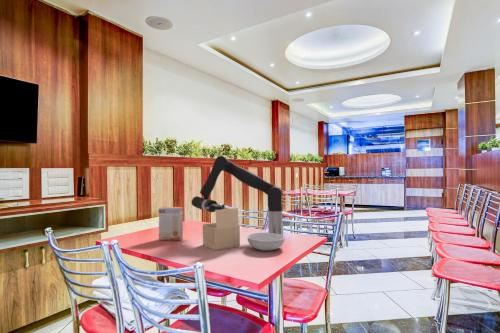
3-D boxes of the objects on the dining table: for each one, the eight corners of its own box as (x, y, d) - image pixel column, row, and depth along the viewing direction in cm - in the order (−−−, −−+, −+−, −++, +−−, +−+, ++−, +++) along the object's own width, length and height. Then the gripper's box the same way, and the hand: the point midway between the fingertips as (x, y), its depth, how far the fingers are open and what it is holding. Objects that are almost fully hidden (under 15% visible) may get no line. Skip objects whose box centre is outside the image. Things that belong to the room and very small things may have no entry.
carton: (201, 244, 169) (201, 224, 169) (226, 240, 179) (226, 221, 179) (214, 251, 155) (213, 229, 156) (240, 246, 165) (240, 225, 165)
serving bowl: (279, 255, 146) (279, 242, 146) (242, 252, 153) (241, 239, 154) (288, 245, 166) (288, 233, 166) (254, 242, 173) (254, 231, 173)
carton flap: (215, 210, 157) (216, 210, 157) (237, 208, 165) (237, 208, 164) (216, 228, 156) (216, 228, 156) (238, 225, 164) (238, 225, 164)
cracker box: (183, 238, 184) (183, 206, 185) (180, 241, 178) (179, 207, 179) (162, 238, 186) (162, 206, 186) (158, 240, 180) (158, 207, 180)
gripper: (199, 200, 176) (212, 203, 162) (218, 199, 184) (232, 201, 169) (199, 212, 176) (212, 216, 162) (218, 210, 183) (232, 214, 169)
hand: (222, 208), depth 165 cm, fingers closed
